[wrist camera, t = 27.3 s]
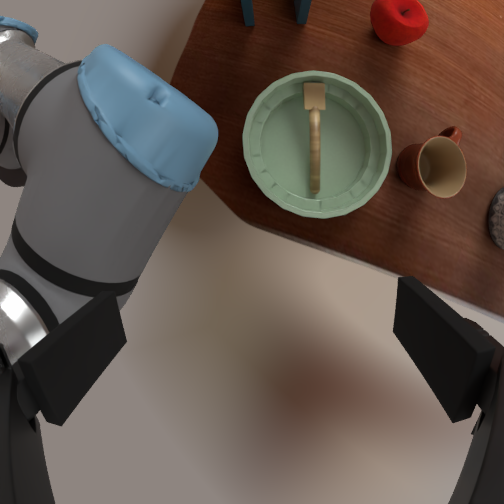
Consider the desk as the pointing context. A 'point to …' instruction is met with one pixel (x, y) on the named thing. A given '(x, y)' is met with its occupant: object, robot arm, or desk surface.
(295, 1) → the teal arch block
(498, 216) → the planter
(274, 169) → the bowl
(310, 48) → the desk surface
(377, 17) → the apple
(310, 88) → the wooden mallet
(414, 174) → the mug
